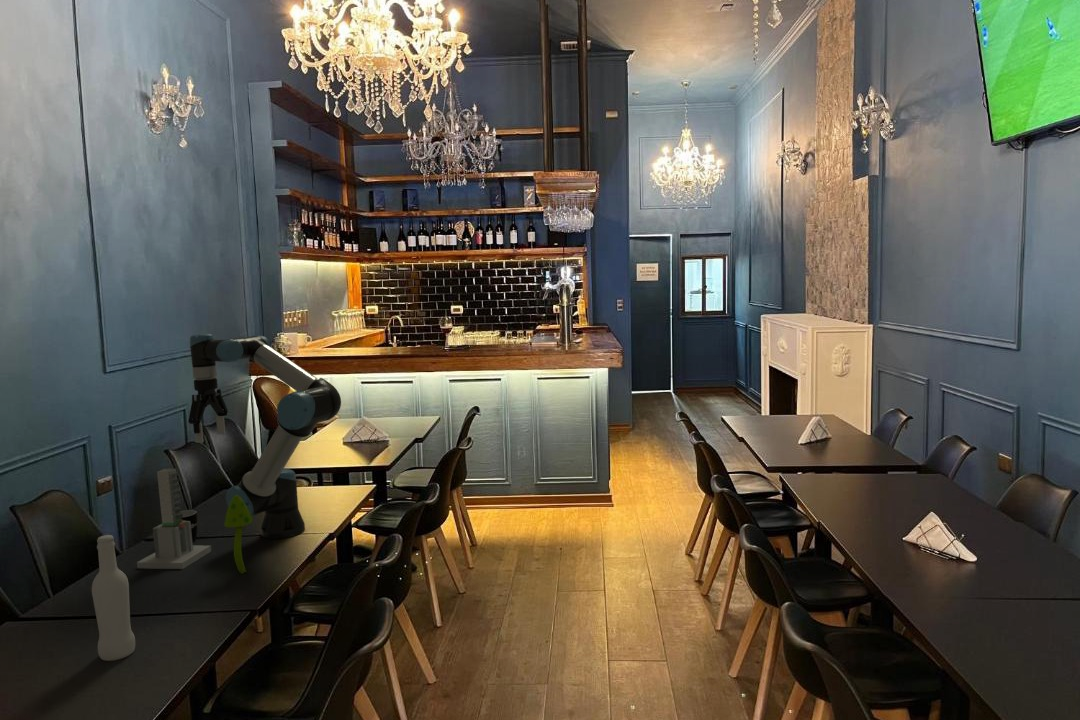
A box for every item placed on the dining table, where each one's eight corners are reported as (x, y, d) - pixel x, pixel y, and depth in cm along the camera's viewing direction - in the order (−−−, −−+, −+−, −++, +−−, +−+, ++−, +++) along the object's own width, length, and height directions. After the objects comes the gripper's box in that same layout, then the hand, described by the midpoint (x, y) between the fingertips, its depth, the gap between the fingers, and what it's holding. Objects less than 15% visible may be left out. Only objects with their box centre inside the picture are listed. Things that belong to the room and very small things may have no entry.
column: (184, 533, 257) (178, 468, 255) (176, 537, 253) (170, 471, 251) (171, 533, 258) (164, 468, 256) (163, 537, 254) (156, 471, 252)
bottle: (108, 647, 194) (95, 532, 191) (141, 645, 195) (129, 529, 192) (92, 663, 186) (78, 543, 183) (127, 660, 187) (114, 540, 184)
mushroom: (263, 569, 244) (256, 492, 242) (242, 578, 237) (235, 499, 234) (243, 566, 248) (236, 490, 245) (222, 575, 240) (215, 497, 238)
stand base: (211, 551, 263) (207, 515, 262) (182, 568, 248) (179, 530, 246) (168, 550, 266) (164, 515, 265) (137, 568, 250) (133, 530, 249)
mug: (192, 545, 271) (189, 517, 269) (166, 546, 271) (164, 518, 270) (207, 534, 282) (205, 507, 281) (183, 534, 283) (181, 507, 282)
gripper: (215, 374, 282) (220, 431, 285) (173, 383, 258) (179, 446, 260) (234, 373, 281) (239, 430, 283) (193, 383, 257) (199, 445, 259)
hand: (210, 438), depth 272 cm, fingers open, 13 cm apart
